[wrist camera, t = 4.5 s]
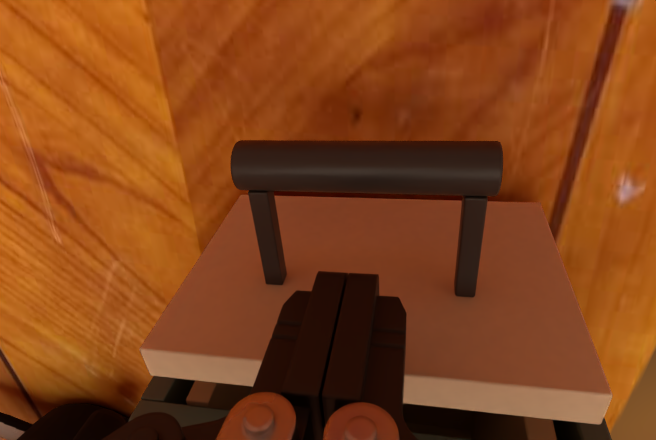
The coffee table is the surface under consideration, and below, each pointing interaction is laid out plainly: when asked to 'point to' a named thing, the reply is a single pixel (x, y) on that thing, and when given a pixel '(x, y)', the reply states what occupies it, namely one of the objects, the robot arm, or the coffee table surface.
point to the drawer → (393, 284)
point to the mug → (64, 424)
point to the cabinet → (172, 400)
